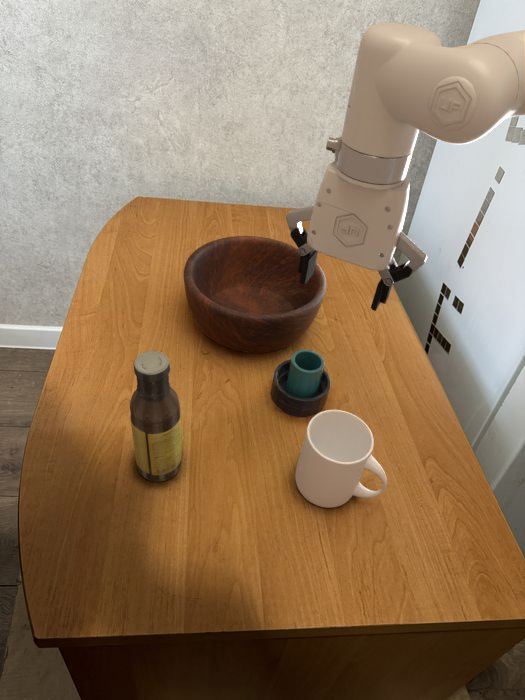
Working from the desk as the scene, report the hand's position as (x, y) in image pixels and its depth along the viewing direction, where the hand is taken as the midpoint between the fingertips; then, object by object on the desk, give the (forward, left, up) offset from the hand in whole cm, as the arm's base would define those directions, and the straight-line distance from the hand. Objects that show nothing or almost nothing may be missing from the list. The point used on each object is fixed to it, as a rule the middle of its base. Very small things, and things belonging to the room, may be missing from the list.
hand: (340, 291), depth 67 cm
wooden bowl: (+18, -15, -24) cm, 34 cm away
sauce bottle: (+14, +20, -24) cm, 34 cm away
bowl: (+3, -2, -24) cm, 24 cm away
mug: (-9, +11, -24) cm, 28 cm away
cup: (+3, -2, -23) cm, 23 cm away
